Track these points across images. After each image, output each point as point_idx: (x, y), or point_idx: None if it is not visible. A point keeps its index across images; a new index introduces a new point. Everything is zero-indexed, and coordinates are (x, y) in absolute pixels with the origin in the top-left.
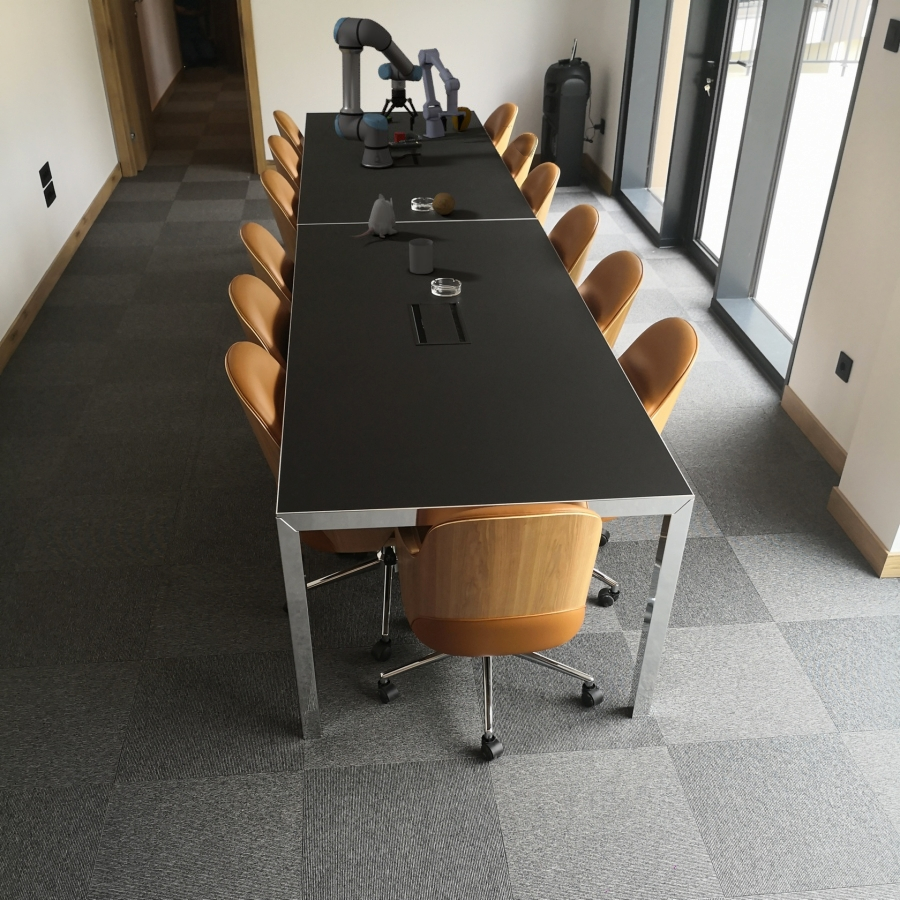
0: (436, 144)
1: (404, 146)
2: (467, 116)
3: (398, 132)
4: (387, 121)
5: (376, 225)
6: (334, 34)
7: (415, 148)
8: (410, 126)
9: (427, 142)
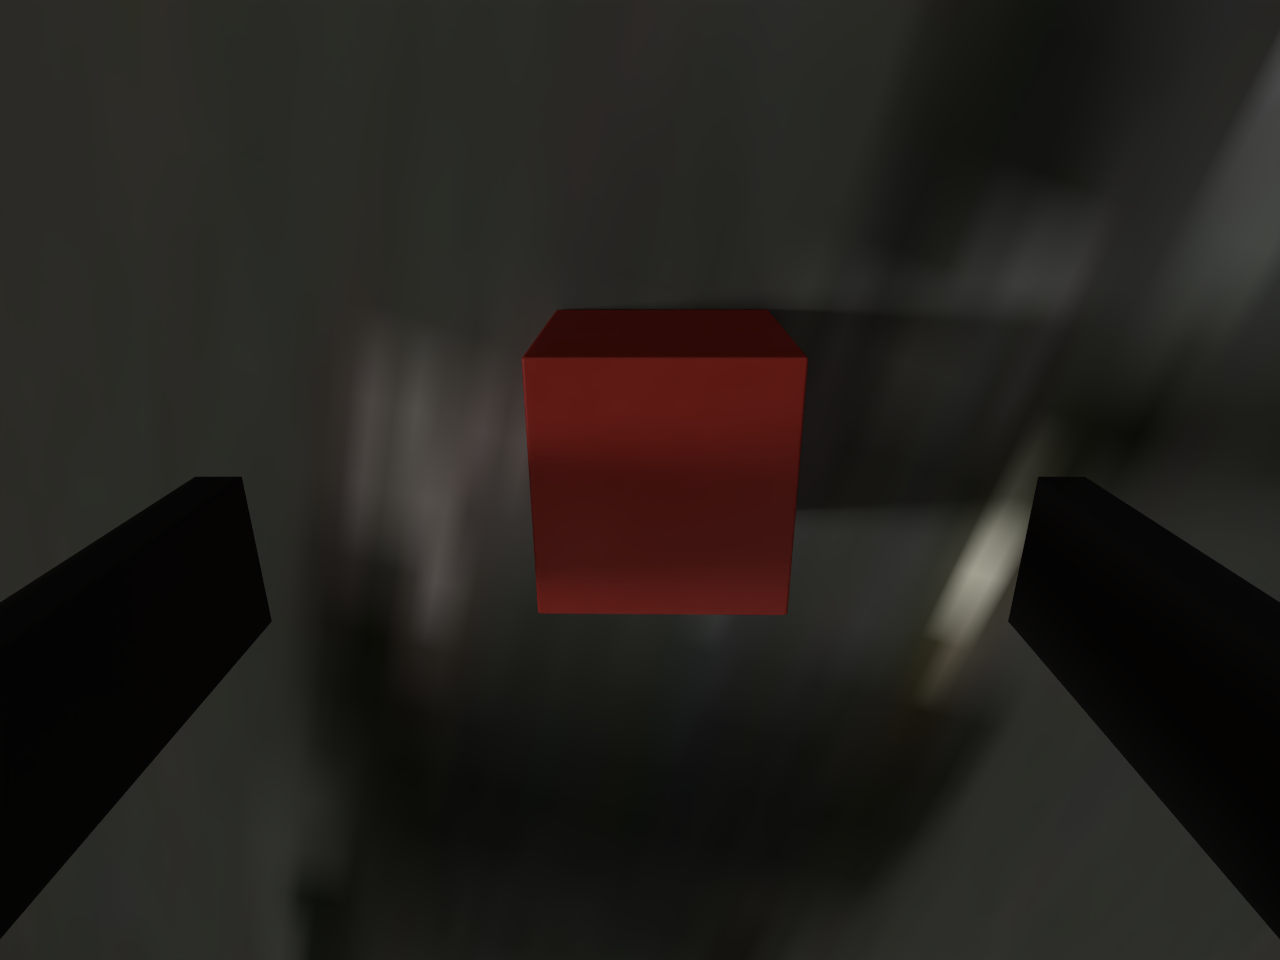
0: None
1: (650, 749)
2: None
3: (636, 439)
4: (13, 891)
5: None
6: None
7: (789, 896)
8: (1096, 566)
9: None
